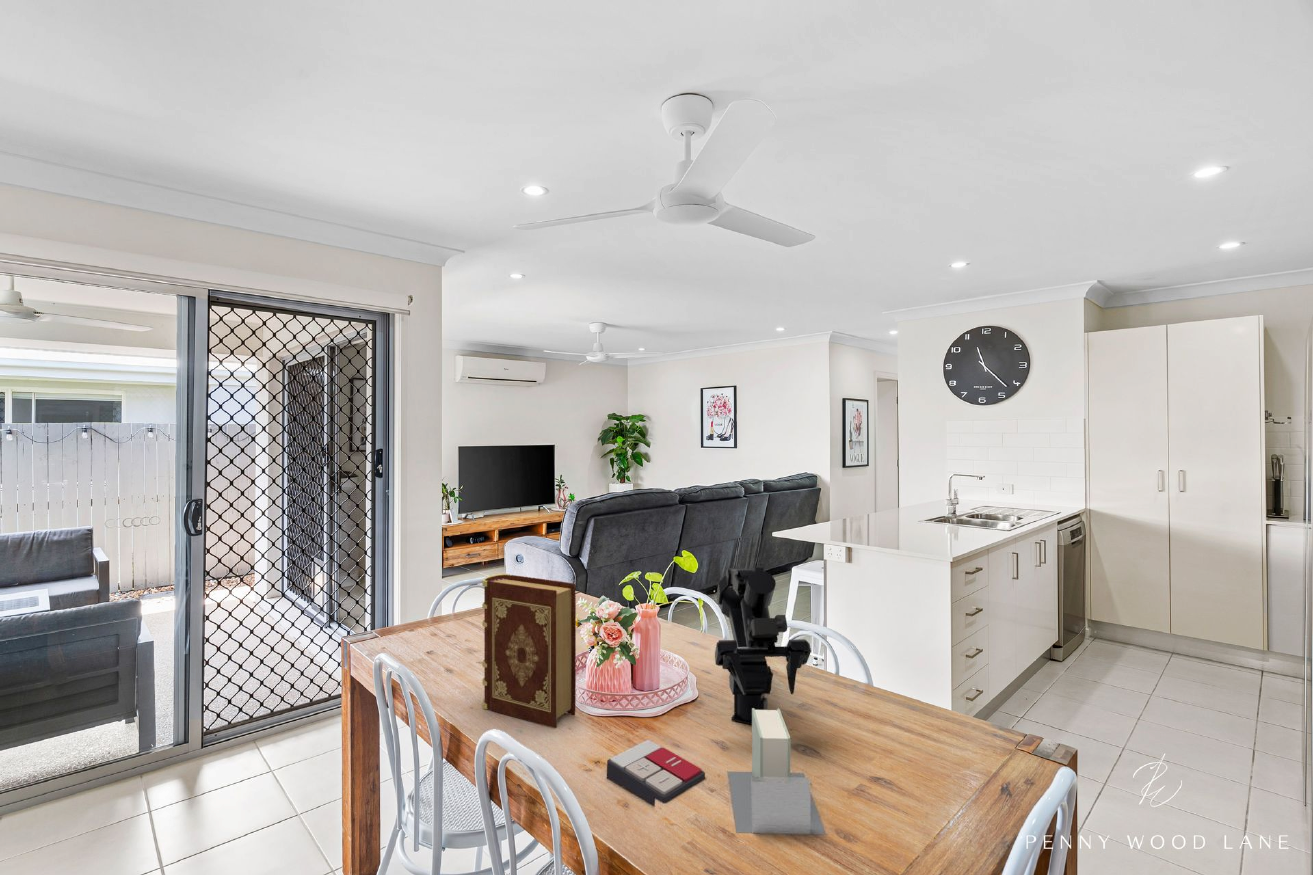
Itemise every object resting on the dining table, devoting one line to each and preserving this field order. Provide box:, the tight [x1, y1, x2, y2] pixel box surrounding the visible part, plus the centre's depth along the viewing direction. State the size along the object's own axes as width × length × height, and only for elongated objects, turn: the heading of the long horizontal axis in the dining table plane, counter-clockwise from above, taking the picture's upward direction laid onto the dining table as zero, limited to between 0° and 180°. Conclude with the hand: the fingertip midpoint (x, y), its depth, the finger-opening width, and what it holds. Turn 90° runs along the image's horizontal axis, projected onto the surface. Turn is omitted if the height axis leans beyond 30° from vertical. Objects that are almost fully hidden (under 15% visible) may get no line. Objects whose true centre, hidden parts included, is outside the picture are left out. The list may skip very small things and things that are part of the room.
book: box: [751, 708, 791, 777], centre depth 107 cm, size 11×5×12 cm, turn 178°
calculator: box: [606, 739, 706, 807], centre depth 113 cm, size 11×4×15 cm
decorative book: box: [481, 573, 577, 729], centre depth 142 cm, size 22×8×30 cm, turn 62°
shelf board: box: [727, 770, 827, 836], centre depth 105 cm, size 18×14×2 cm
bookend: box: [751, 776, 811, 835], centre depth 97 cm, size 2×9×8 cm, turn 88°
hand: (768, 693), depth 119 cm, fingers open, 9 cm apart
